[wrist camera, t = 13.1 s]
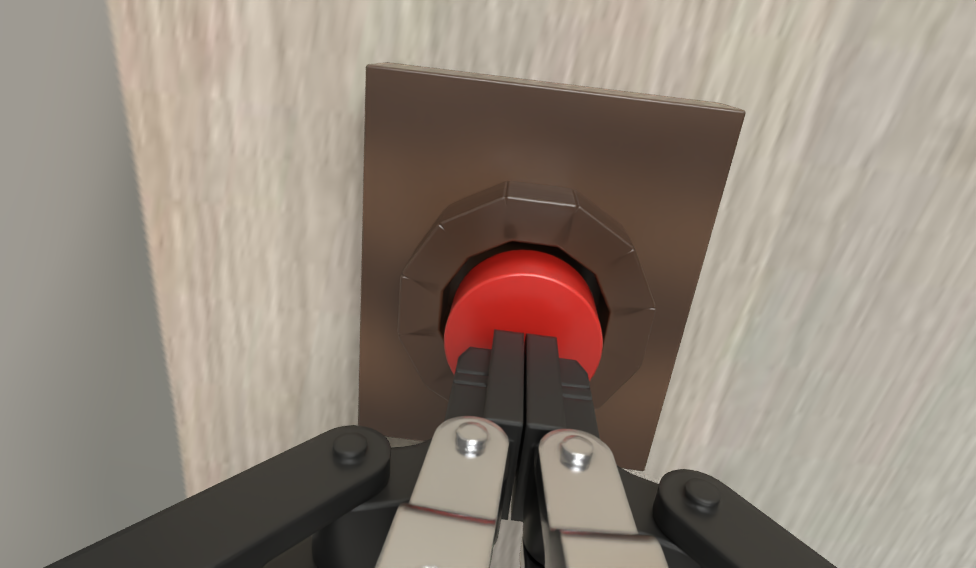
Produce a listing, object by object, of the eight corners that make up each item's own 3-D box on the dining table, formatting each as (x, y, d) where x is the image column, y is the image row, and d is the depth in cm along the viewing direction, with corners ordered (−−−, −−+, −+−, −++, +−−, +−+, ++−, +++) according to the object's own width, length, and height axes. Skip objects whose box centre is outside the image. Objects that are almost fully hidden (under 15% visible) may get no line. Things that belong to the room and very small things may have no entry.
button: (458, 239, 15) (450, 263, 13) (608, 258, 15) (618, 284, 13) (446, 367, 16) (437, 402, 15) (581, 386, 16) (587, 423, 15)
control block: (384, 61, 17) (344, 66, 13) (720, 102, 16) (775, 118, 13) (373, 396, 21) (341, 469, 18) (633, 431, 21) (655, 512, 17)
